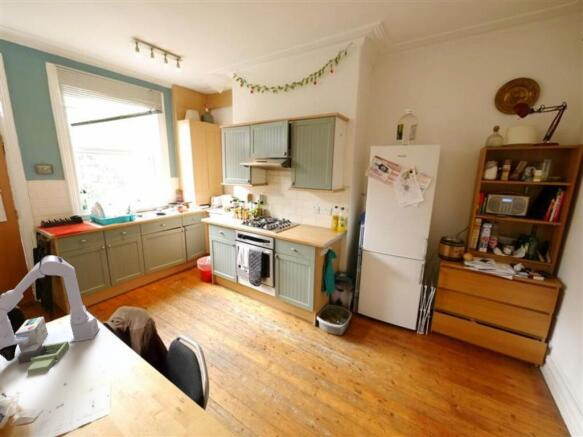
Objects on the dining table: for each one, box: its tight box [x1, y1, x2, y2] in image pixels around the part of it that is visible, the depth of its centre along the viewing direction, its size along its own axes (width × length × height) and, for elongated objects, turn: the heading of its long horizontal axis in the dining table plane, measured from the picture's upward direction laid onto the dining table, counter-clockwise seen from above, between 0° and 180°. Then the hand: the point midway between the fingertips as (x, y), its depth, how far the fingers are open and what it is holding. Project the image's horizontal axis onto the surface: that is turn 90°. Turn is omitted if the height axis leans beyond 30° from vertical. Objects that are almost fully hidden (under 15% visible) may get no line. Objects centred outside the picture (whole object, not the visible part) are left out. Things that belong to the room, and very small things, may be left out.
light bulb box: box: [14, 316, 49, 354], centre depth 118 cm, size 11×7×11 cm, turn 26°
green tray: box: [26, 340, 70, 375], centre depth 110 cm, size 10×14×3 cm
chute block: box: [16, 343, 48, 365], centre depth 110 cm, size 7×5×6 cm
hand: (11, 359), depth 108 cm, fingers closed
